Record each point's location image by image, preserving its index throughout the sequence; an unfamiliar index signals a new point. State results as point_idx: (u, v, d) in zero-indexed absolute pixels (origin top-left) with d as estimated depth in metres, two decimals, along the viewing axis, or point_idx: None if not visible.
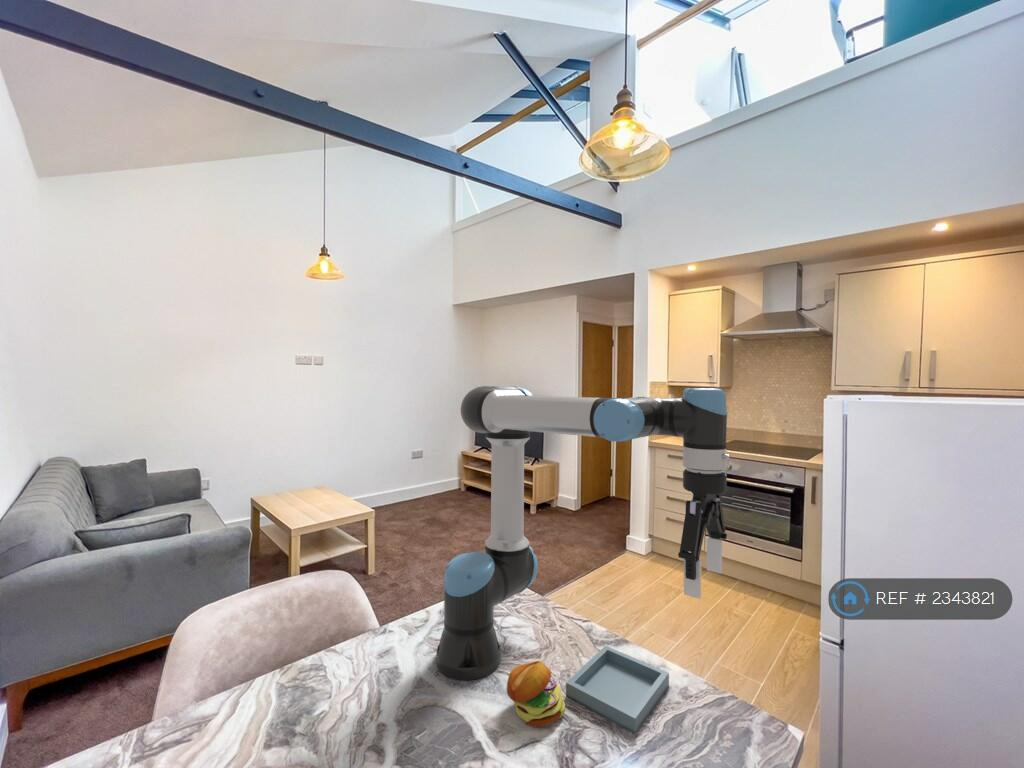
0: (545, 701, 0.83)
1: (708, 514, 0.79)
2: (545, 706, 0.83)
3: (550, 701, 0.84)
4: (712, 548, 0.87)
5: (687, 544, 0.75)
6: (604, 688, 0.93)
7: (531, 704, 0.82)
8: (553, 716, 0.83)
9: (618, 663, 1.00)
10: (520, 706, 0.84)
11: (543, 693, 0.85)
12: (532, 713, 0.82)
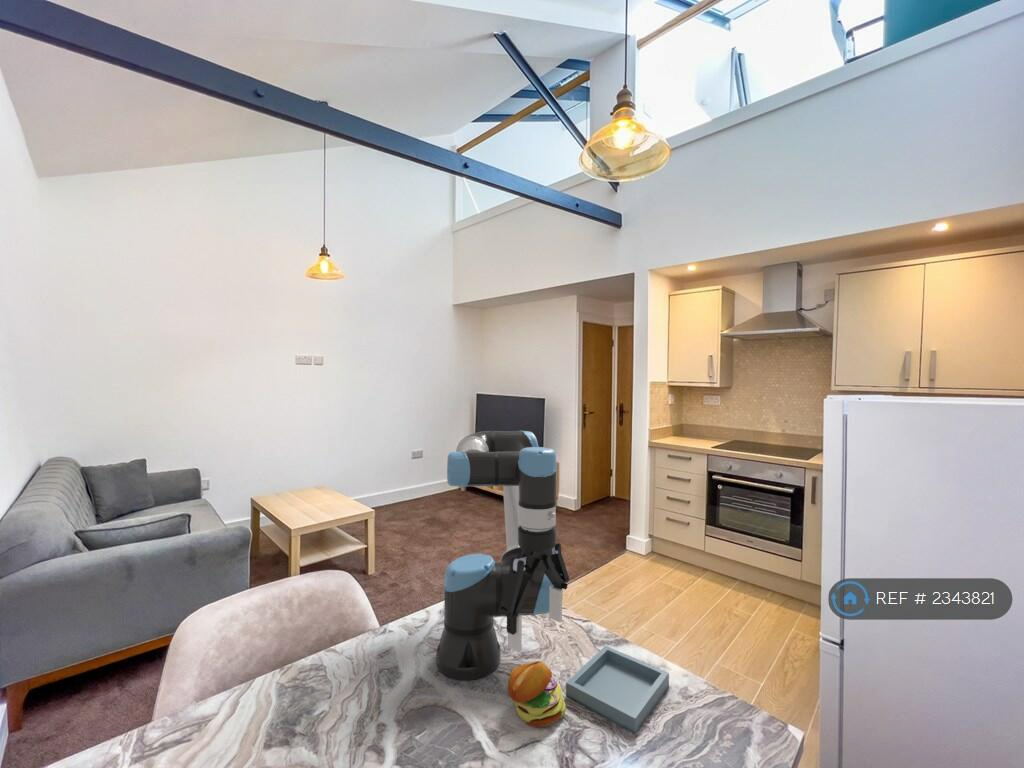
0: (546, 701, 0.83)
1: (534, 570, 0.84)
2: (546, 706, 0.82)
3: (551, 701, 0.84)
4: (553, 597, 0.92)
5: (506, 601, 0.80)
6: (604, 688, 0.93)
7: (532, 704, 0.82)
8: (554, 716, 0.83)
9: (618, 663, 1.00)
10: (521, 706, 0.84)
11: (544, 693, 0.85)
12: (533, 713, 0.82)
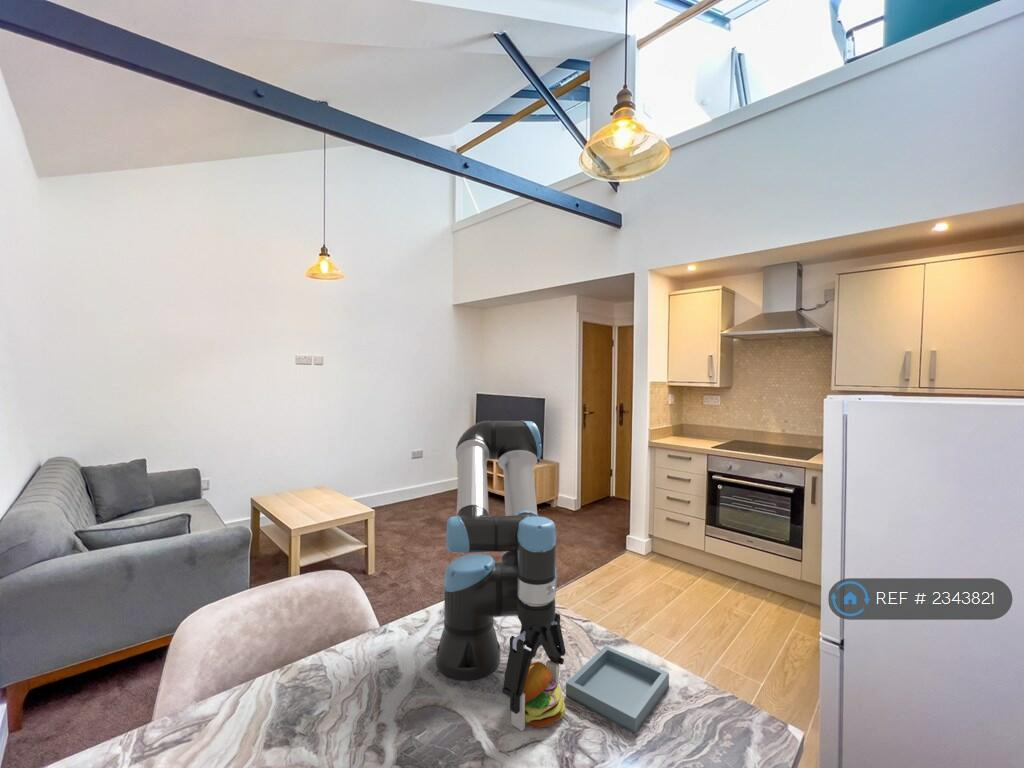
0: (545, 702, 0.83)
1: (534, 646, 0.84)
2: (545, 707, 0.82)
3: (550, 702, 0.83)
4: None
5: (508, 682, 0.80)
6: (604, 688, 0.93)
7: (531, 705, 0.82)
8: (553, 717, 0.83)
9: (618, 663, 1.00)
10: None
11: (543, 694, 0.85)
12: (532, 714, 0.82)
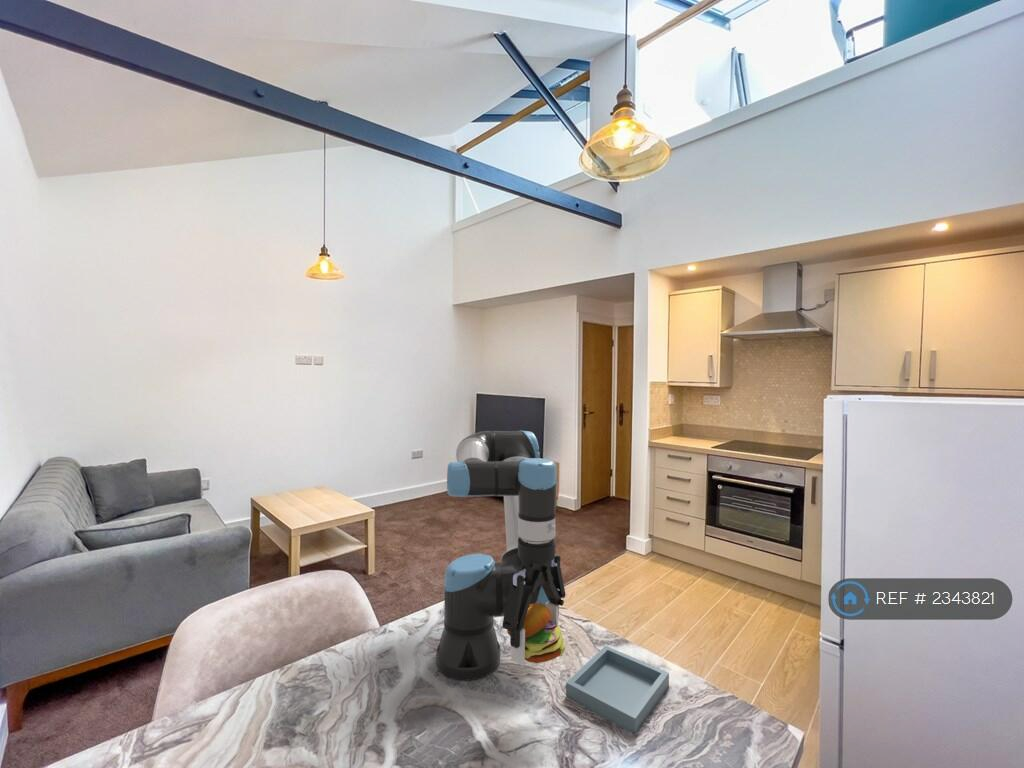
0: (545, 638, 0.83)
1: (534, 583, 0.84)
2: (545, 643, 0.83)
3: (550, 639, 0.84)
4: None
5: (508, 616, 0.81)
6: (604, 688, 0.93)
7: (531, 640, 0.82)
8: (553, 653, 0.83)
9: (618, 663, 1.00)
10: None
11: (543, 631, 0.85)
12: (532, 649, 0.82)
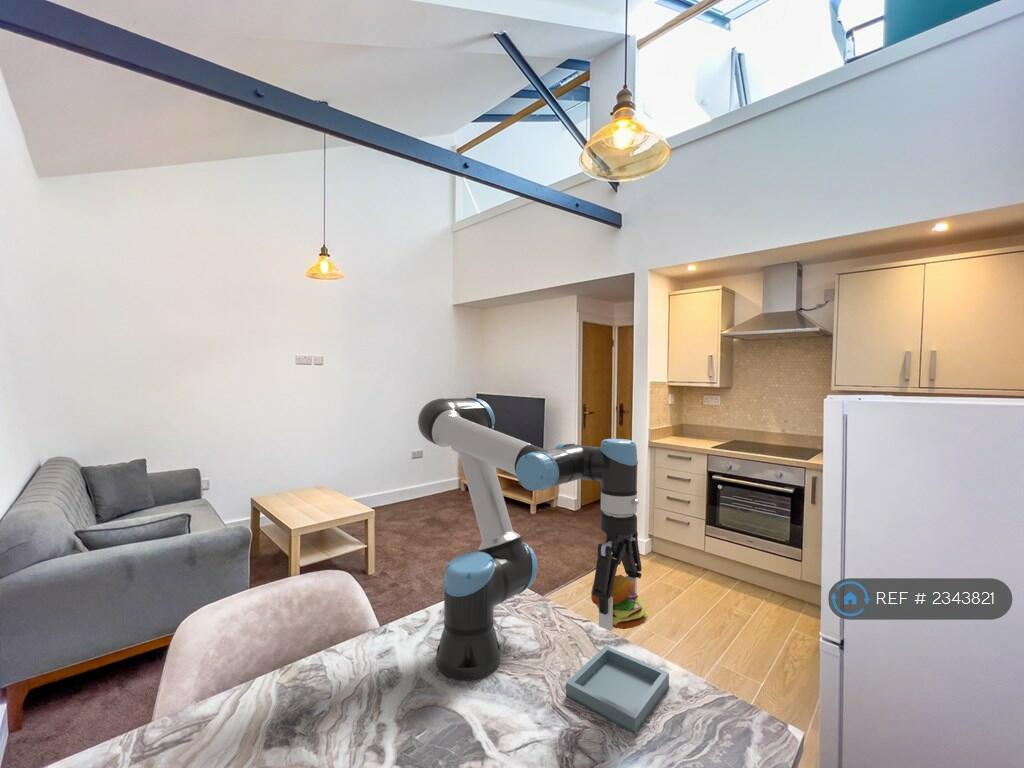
0: (631, 606, 0.88)
1: (619, 554, 0.89)
2: (631, 610, 0.88)
3: (635, 606, 0.89)
4: None
5: (598, 584, 0.86)
6: (604, 688, 0.93)
7: (618, 607, 0.88)
8: (639, 620, 0.88)
9: (618, 663, 1.00)
10: None
11: (627, 600, 0.90)
12: (620, 615, 0.87)
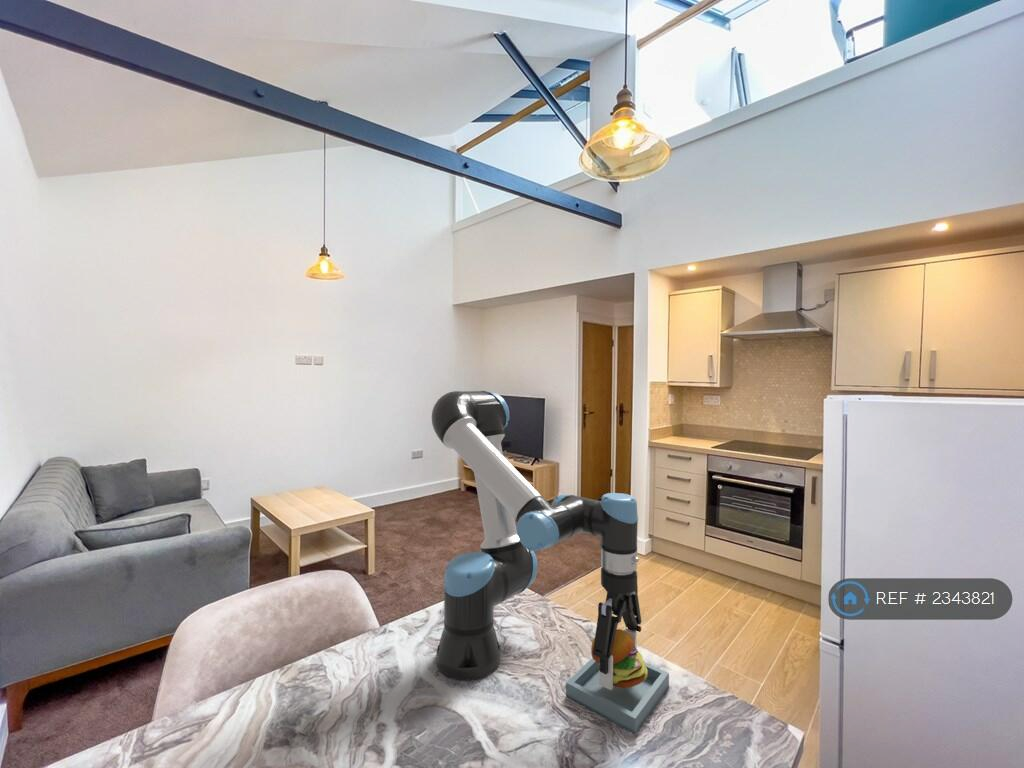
0: (631, 664, 0.89)
1: (619, 612, 0.90)
2: (632, 668, 0.88)
3: (635, 664, 0.89)
4: None
5: (599, 644, 0.86)
6: (604, 688, 0.93)
7: (619, 666, 0.88)
8: (639, 678, 0.88)
9: None
10: None
11: (628, 657, 0.90)
12: (620, 675, 0.87)
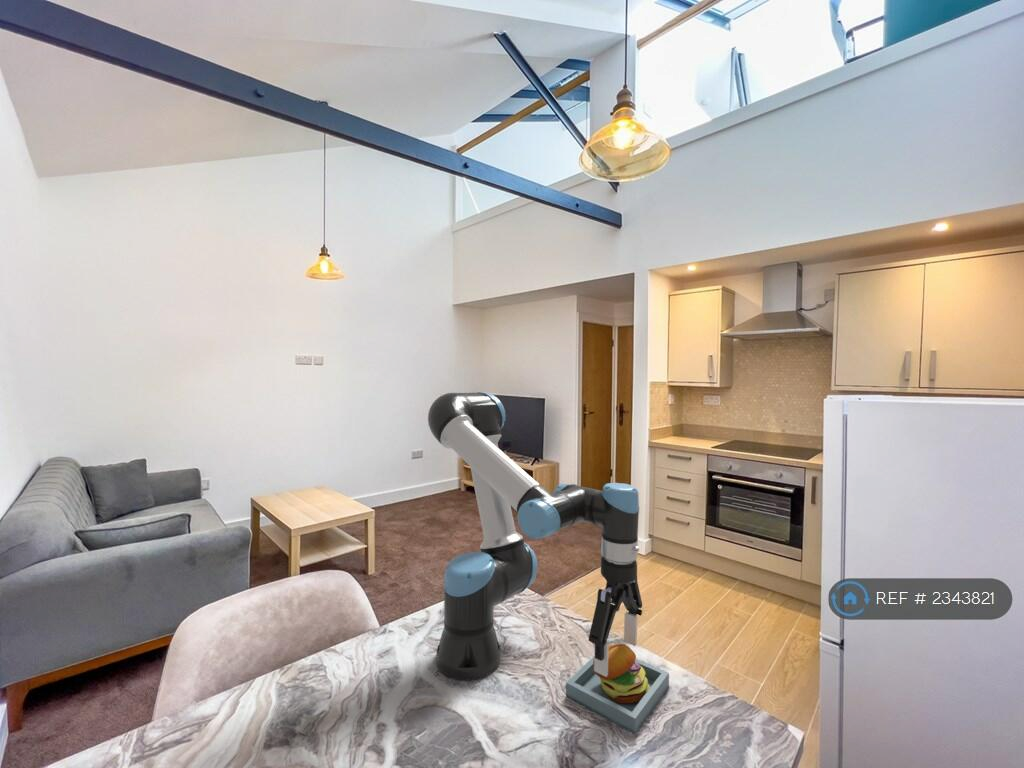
0: (631, 680, 0.88)
1: (618, 600, 0.90)
2: (631, 685, 0.88)
3: (635, 681, 0.89)
4: (629, 622, 0.98)
5: (595, 630, 0.86)
6: None
7: (617, 681, 0.88)
8: (639, 695, 0.88)
9: None
10: (607, 683, 0.89)
11: (628, 673, 0.90)
12: (618, 690, 0.87)
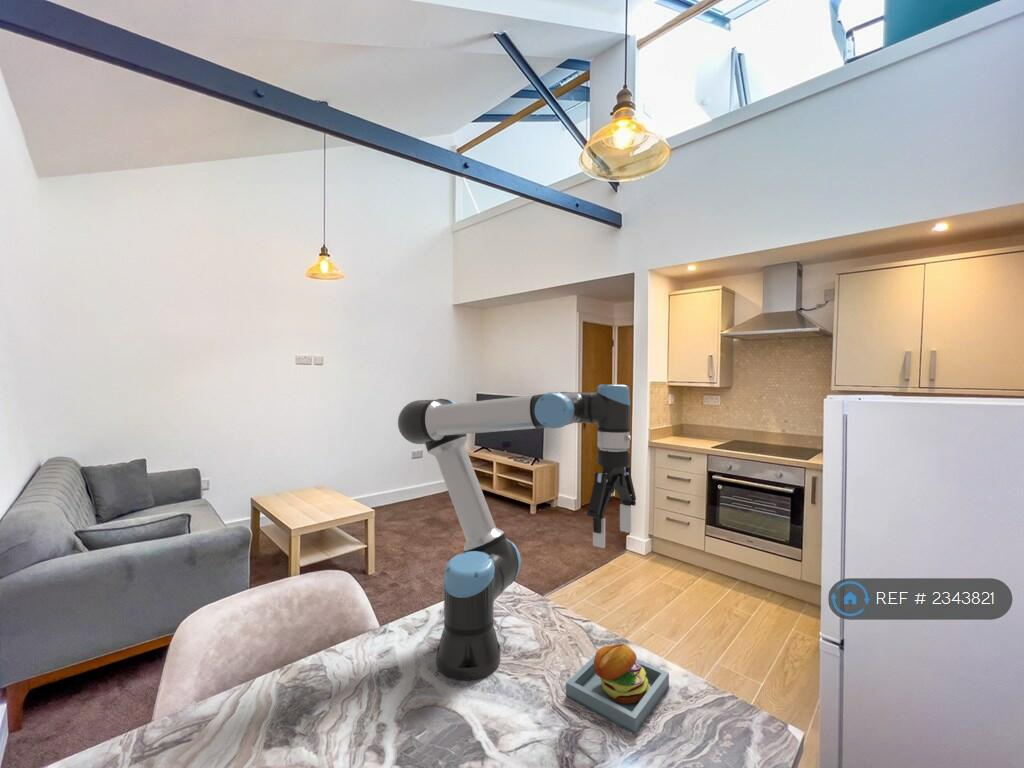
0: (631, 680, 0.88)
1: (613, 483, 1.00)
2: (631, 685, 0.88)
3: (636, 681, 0.89)
4: (624, 513, 1.09)
5: (593, 505, 0.96)
6: None
7: (618, 682, 0.88)
8: (639, 695, 0.88)
9: None
10: (607, 683, 0.89)
11: (629, 673, 0.90)
12: (619, 690, 0.87)
